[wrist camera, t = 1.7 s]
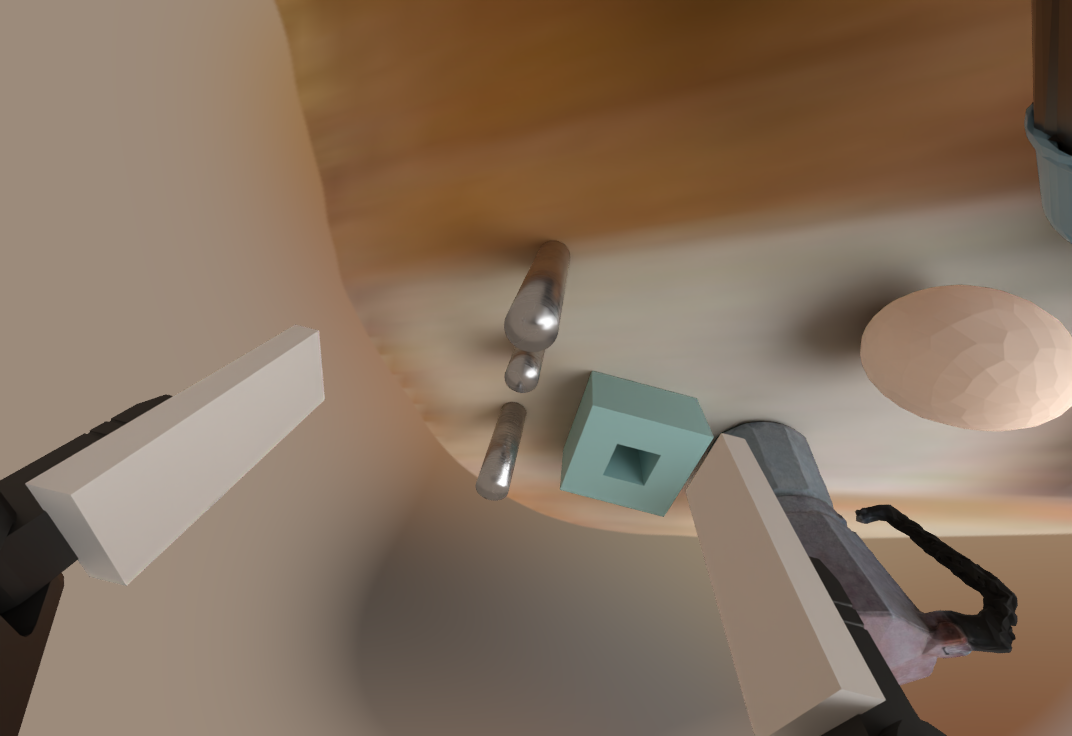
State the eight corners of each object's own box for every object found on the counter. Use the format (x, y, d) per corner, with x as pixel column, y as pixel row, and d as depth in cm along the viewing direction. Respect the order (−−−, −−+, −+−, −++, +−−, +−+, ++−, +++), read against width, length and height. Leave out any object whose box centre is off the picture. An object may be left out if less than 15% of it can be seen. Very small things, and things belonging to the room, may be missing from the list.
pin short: (520, 327, 34) (508, 359, 28) (548, 335, 34) (541, 368, 28) (514, 352, 35) (501, 387, 30) (541, 360, 35) (533, 396, 30)
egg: (938, 241, 26) (1147, 294, 17) (980, 328, 29) (1183, 419, 19) (811, 316, 30) (921, 397, 20) (858, 388, 33) (976, 491, 23)
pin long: (541, 236, 29) (509, 295, 17) (574, 245, 30) (564, 310, 17) (534, 269, 31) (499, 344, 19) (565, 277, 31) (550, 357, 19)
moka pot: (660, 457, 39) (719, 701, 22) (815, 376, 32) (1072, 629, 15) (711, 510, 42) (799, 763, 24) (863, 444, 35) (1127, 724, 18)
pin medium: (503, 399, 38) (478, 473, 29) (529, 406, 38) (511, 481, 29) (498, 419, 39) (473, 495, 30) (523, 425, 39) (504, 503, 30)
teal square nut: (592, 370, 35) (592, 405, 30) (696, 398, 35) (713, 437, 30) (563, 449, 40) (559, 489, 35) (654, 473, 40) (663, 516, 35)
